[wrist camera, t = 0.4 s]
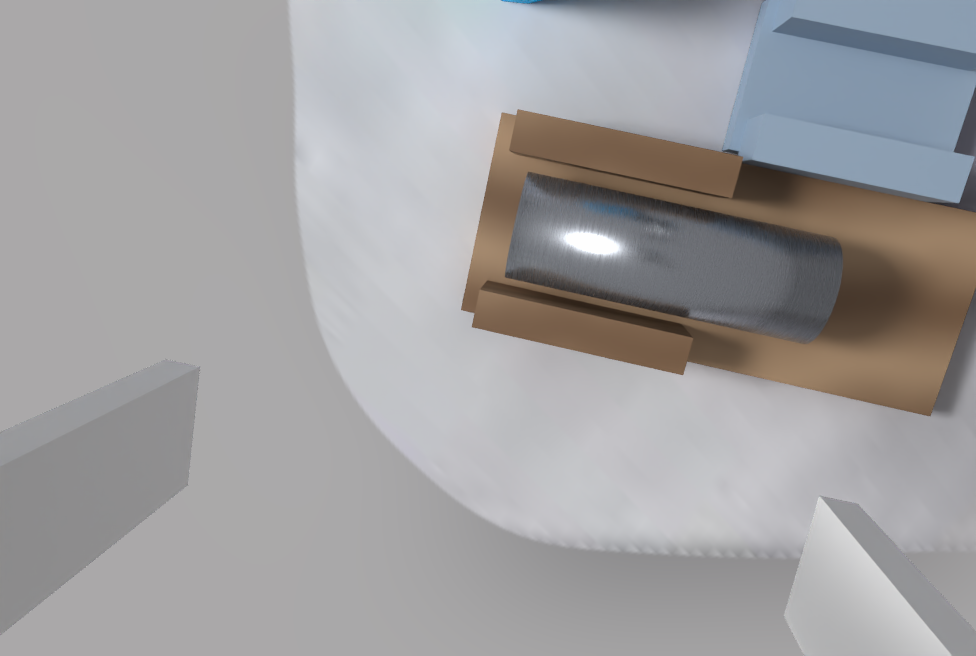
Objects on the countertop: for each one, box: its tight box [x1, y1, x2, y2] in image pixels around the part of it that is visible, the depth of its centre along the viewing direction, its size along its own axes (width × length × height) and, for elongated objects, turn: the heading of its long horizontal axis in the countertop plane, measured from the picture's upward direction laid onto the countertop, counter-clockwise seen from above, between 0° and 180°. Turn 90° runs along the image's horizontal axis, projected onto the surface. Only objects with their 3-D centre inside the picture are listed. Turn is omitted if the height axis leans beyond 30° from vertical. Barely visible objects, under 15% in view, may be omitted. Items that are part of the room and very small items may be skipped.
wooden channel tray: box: [461, 110, 976, 416], centre depth 35 cm, size 10×24×5 cm, turn 78°
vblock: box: [722, 0, 976, 203], centre depth 33 cm, size 8×10×4 cm
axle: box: [505, 172, 843, 344], centre depth 34 cm, size 14×5×5 cm, turn 78°
